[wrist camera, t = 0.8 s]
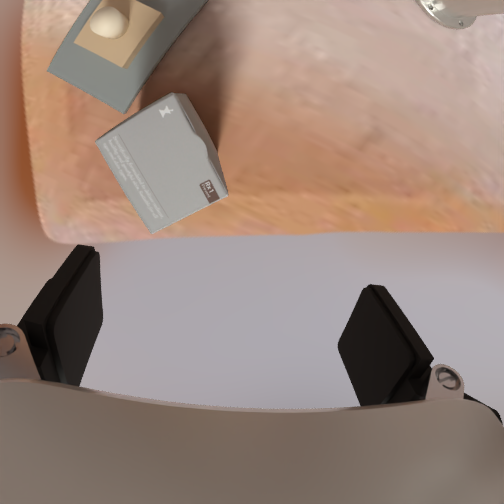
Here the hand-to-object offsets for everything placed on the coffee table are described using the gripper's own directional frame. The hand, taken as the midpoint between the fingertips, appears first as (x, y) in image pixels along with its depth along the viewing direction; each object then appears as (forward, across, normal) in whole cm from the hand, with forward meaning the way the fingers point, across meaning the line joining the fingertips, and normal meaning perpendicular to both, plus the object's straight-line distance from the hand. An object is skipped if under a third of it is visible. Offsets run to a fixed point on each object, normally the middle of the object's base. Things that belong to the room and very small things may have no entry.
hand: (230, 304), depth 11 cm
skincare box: (+28, +5, -1) cm, 28 cm away
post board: (+28, +14, -13) cm, 33 cm away
